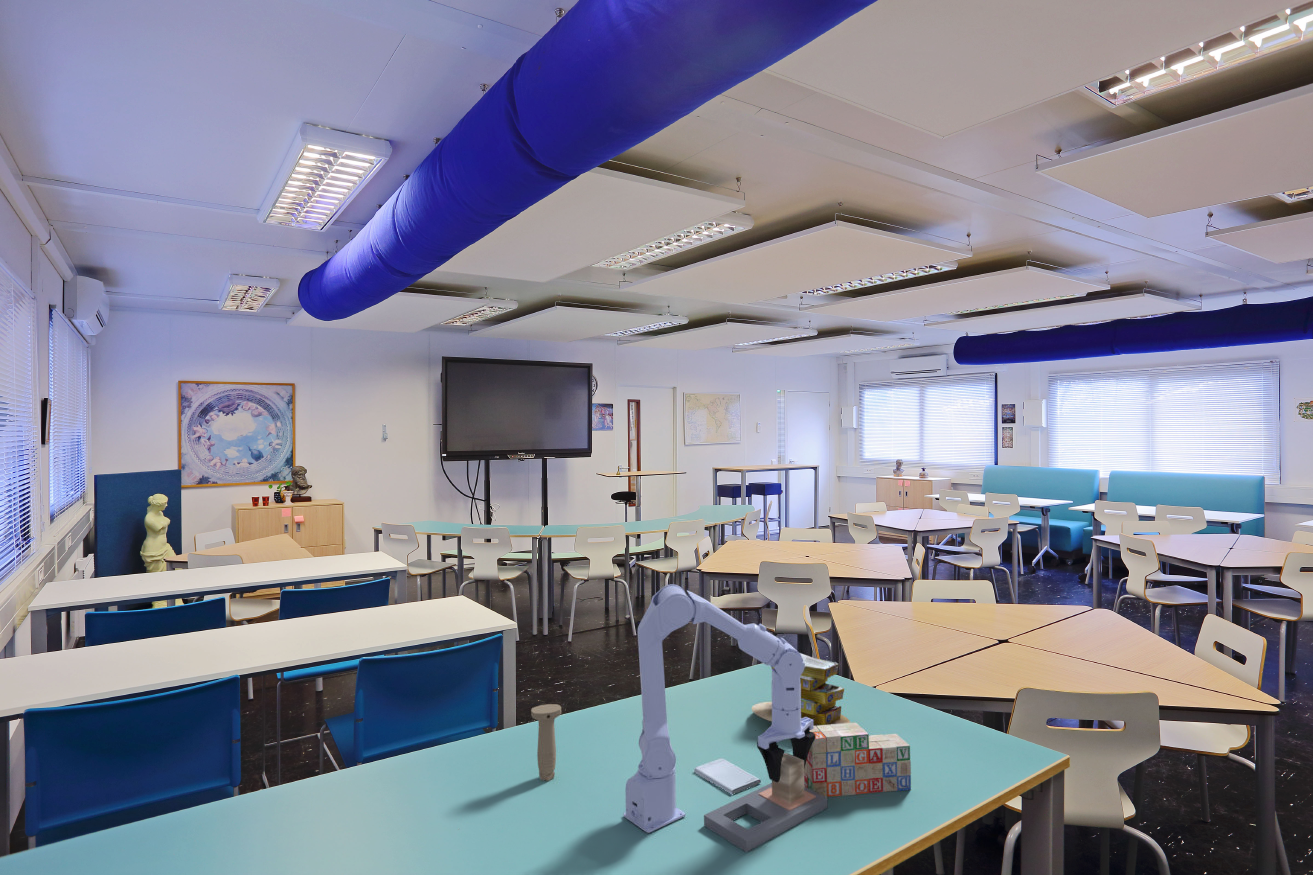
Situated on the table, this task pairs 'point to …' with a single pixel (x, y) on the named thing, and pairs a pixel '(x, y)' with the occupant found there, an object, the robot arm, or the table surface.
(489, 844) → the table surface
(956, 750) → the table surface
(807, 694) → the stack of yellow boxes
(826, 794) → the stack of blocks
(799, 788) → the maple block
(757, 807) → the kitting board
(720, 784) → the hard drive
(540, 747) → the handle
